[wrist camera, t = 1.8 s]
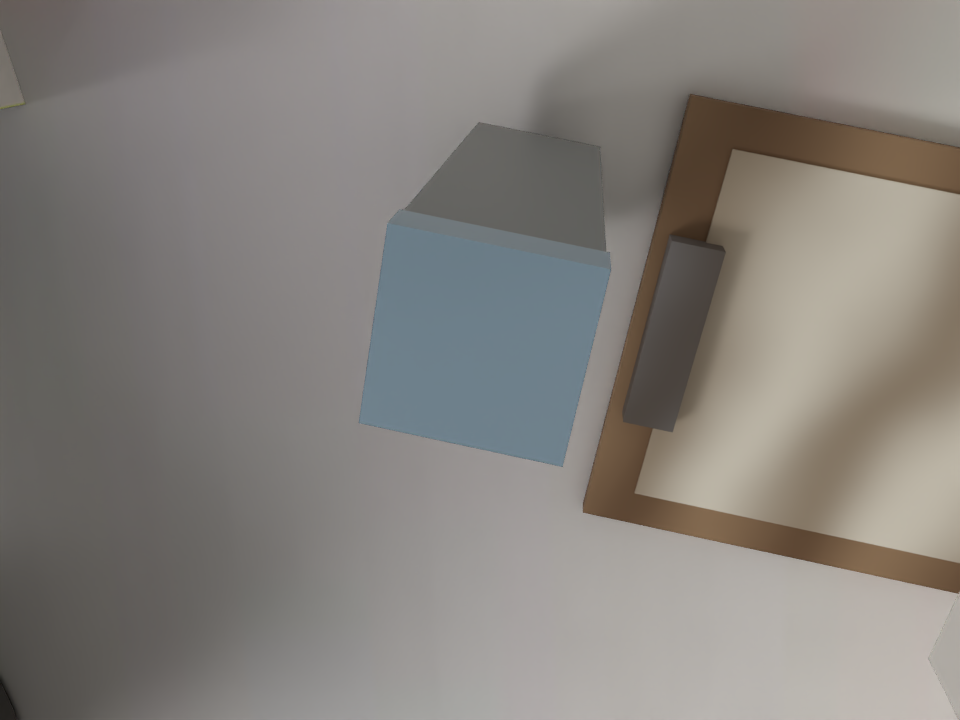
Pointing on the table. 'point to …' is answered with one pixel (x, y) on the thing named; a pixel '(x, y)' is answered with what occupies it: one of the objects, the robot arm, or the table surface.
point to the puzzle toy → (8, 80)
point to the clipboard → (796, 349)
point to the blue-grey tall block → (492, 297)
